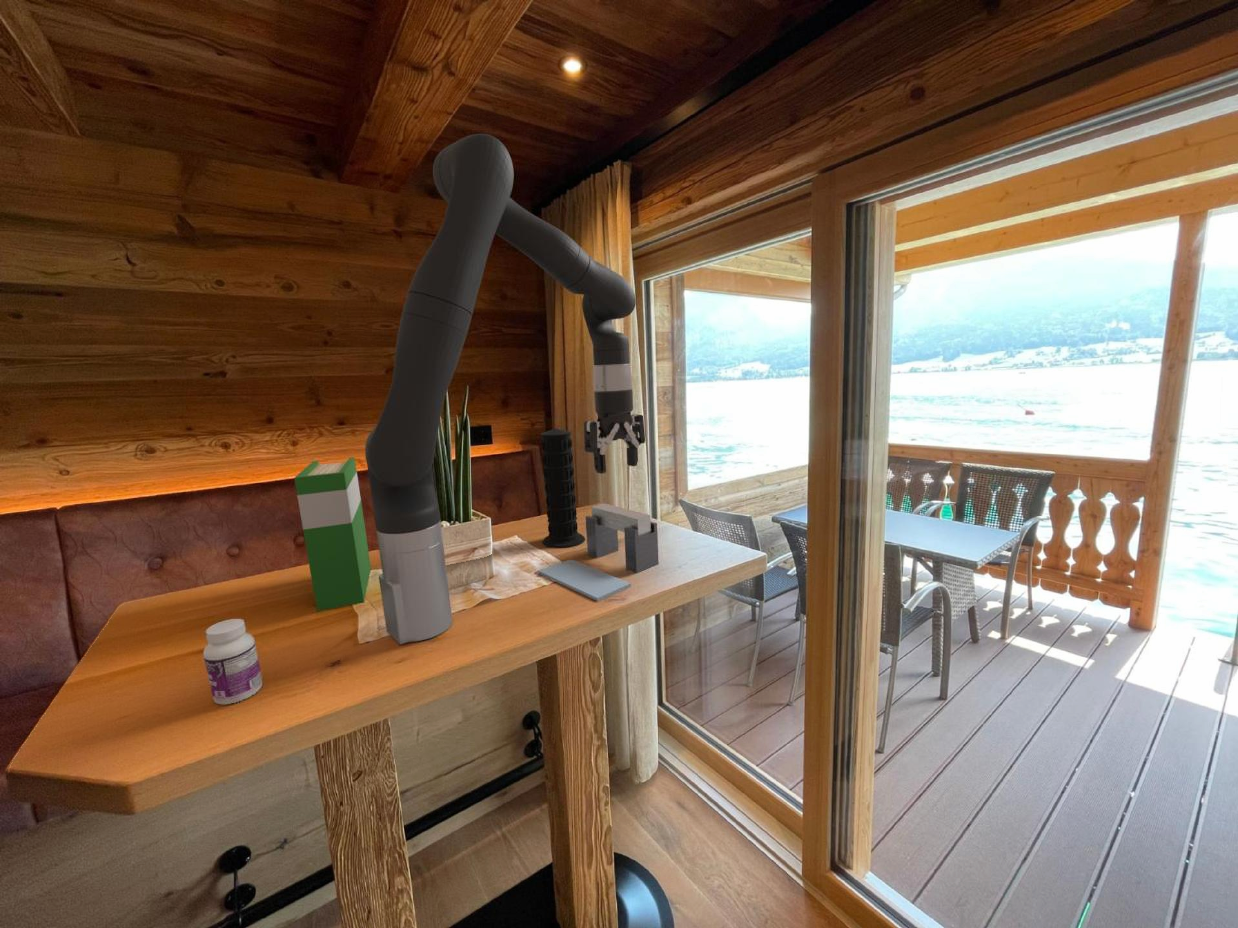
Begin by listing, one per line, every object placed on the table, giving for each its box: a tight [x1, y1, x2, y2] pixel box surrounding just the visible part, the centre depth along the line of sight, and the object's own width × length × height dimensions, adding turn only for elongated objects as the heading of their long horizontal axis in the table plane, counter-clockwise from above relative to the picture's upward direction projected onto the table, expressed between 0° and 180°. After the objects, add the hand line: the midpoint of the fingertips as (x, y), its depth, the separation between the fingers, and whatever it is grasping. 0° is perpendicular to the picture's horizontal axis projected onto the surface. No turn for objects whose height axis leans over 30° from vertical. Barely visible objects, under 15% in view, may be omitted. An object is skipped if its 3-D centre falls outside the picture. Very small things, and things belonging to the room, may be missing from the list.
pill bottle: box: [202, 618, 263, 706], centre depth 67 cm, size 5×5×10 cm
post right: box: [623, 520, 659, 574], centre depth 102 cm, size 6×3×9 cm, turn 133°
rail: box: [590, 502, 652, 536], centre depth 106 cm, size 4×14×4 cm, turn 42°
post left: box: [585, 515, 619, 559], centre depth 111 cm, size 6×3×9 cm, turn 132°
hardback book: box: [294, 456, 372, 612], centre depth 97 cm, size 18×7×24 cm, turn 22°
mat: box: [538, 559, 632, 602], centre depth 98 cm, size 8×18×1 cm, turn 43°
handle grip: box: [540, 428, 586, 549], centre depth 118 cm, size 10×26×10 cm
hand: (617, 469), depth 104 cm, fingers open, 8 cm apart
